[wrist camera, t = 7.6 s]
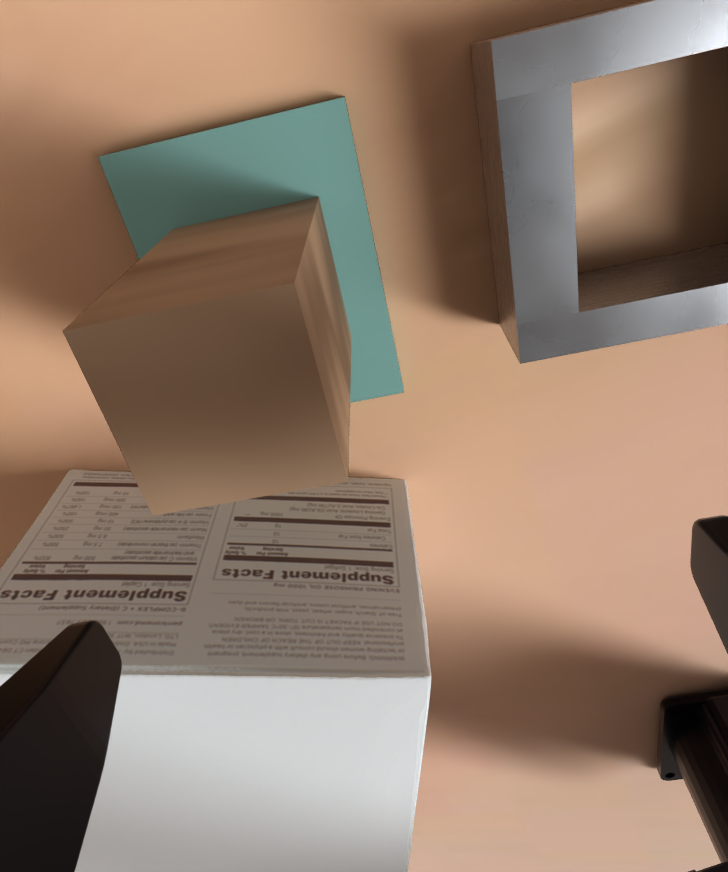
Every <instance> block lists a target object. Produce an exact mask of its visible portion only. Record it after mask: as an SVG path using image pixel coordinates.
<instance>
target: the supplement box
mask: <svg viewBox="0 0 728 872" xmlns="http://www.w3.org/2000/svg"><path fill="white" fill-rule="evenodd" d="M90 620H96V621H98V622H99V623H101V624H102V626H103V627H104V629H105V631H106V632H107V634H108V635H109V637H110V639H111V640H112V642H113V643H114V645H115V647H116V648H117V650H118V652H119V654H120V657H121V661H122V670H121V676H120V682H119V688H118V693H117V699H116V705H115V710H114V716H113V722H112V727H111V733H110V739H109V744H108V750H107V755H106V759H105V764H104V768H103V772H102V776H101V780H100V784H99V787H98V791H97V794H96V798H95V802H94V805H93V809H92V812H91V816H90V819H89V823H88V827H87V830H86V834H85V837H84V841H83V844H82V848H81V851H80V855H79V859H78V862H77V866H76V869H75V872H407V870H408V863H409V856H410V849H411V840H412V832H413V824H414V816H415V808H416V801H417V793H418V786H419V779H420V771H421V763H422V756H423V748H424V740H425V733H426V725H427V717H428V709H429V699H430V689H431V668H430V659H429V647H428V633H427V623H426V617H425V609H424V601H423V594H422V587H421V582H420V576H419V569H418V562H417V555H416V547H415V540H414V533H413V525H412V518H411V510H410V503H409V496H408V488H407V482H406V481H405V480H403V479H386V478H356V477H348V482H343V483H337V484H332V485H326V486H320V487H314V488H309V489H303V490H297V491H292V492H286V493H280V494H274V495H269V496H263V497H257V498H251V499H246V500H240V501H234V502H229V503H223V504H217V505H211V506H206V507H200V508H194V509H188V510H183V511H177V512H171V513H166V514H160V515H154V516H152V514H151V512H150V510H149V508H148V505H147V503H146V501H145V499H144V497H143V495H142V493H141V491H140V489H139V487H138V485H137V483H136V481H135V479H134V477H133V475H132V473H131V472H123V471H90V470H77V469H70V470H69V471H68V472H67V474H66V475H65V477H64V478H63V480H62V481H61V483H60V484H59V486H58V487H57V489H56V490H55V492H54V493H53V495H52V496H51V498H50V499H49V501H48V502H47V504H46V505H45V507H44V508H43V510H42V511H41V513H40V514H39V515H38V517H37V518H36V520H35V521H34V522H33V524H32V525H31V527H30V528H29V530H28V531H27V532H26V534H25V535H24V537H23V538H22V539H21V541H20V542H19V544H18V545H17V547H16V548H15V549H14V551H13V552H12V554H11V555H10V556H9V558H8V559H7V561H6V562H5V563H4V565H3V566H2V568H1V569H0V686H1V685H2V684H3V683H4V682H6V681H7V680H8V679H9V678H10V677H11V676H12V675H13V674H15V673H16V672H17V671H18V670H19V669H20V668H21V667H22V666H23V665H25V664H26V663H27V662H28V661H29V660H30V659H31V658H32V657H34V656H35V655H36V654H37V653H38V652H39V651H40V650H41V649H43V648H44V647H45V646H46V645H47V644H48V643H49V642H50V641H51V640H53V639H54V638H55V637H56V636H57V635H58V634H59V633H60V632H62V631H63V630H64V629H65V628H66V627H67V626H69V625H71V624H73V623H78V622H84V621H90Z"/></svg>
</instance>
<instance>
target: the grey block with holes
mask: <svg viewBox="0 0 728 872" xmlns="http://www.w3.org/2000/svg"><path fill="white" fill-rule="evenodd" d="M470 45H471V55H472V64H473V74H474V83H475V93H476V102H477V112H478V121H479V131H480V140H481V150H482V159H483V169H484V178H485V188H486V197H487V207H488V216H489V226H490V235H491V245H492V254H493V264H494V273H495V283H496V292H497V302H498V311H499V321H500V326H501V328H502V330H503V332H504V334H505V336H506V338H507V340H508V341H509V343H510V345H511V347H512V349H513V351H514V353H515V355H516V357H517V358H518V360H519V362H520V364H521V363H526V362H532V361H537V360H542V359H547V358H552V357H558V356H563V355H568V354H573V353H578V352H583V351H589V350H594V349H599V348H604V347H609V346H615V345H620V344H625V343H630V342H635V341H640V340H646V339H651V338H656V337H661V336H666V335H672V334H677V333H682V332H687V331H692V330H697V329H703V328H708V327H713V326H718V325H723V324H728V243H724V244H720V245H715V246H710V247H705V248H700V249H695V250H690V251H686V252H681V253H676V254H671V255H666V256H661V257H656V258H651V259H647V260H642V261H637V262H632V263H627V264H622V265H617V266H613V267H608V268H603V269H598V270H593V271H588V272H583V273H579V274H578V273H577V244H576V216H575V188H574V160H573V132H572V104H571V83H574V82H578V81H583V80H587V79H591V78H595V77H600V76H604V75H608V74H612V73H616V72H621V71H625V70H629V69H633V68H638V67H642V66H646V65H650V64H654V63H659V62H663V61H667V60H671V59H676V58H680V57H684V56H688V55H692V54H697V53H701V52H705V51H709V50H714V49H718V48H722V47H726V46H728V0H644V1H640V2H636V3H632V4H628V5H624V6H620V7H616V8H612V9H608V10H604V11H600V12H596V13H592V14H588V15H584V16H580V17H576V18H572V19H568V20H563V21H559V22H555V23H551V24H547V25H543V26H539V27H535V28H531V29H527V30H523V31H519V32H515V33H511V34H507V35H503V36H499V37H495V38H491V39H487V40H483V41H478V42H474V43H470Z"/></svg>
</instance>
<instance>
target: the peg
mask: <svg viewBox="0 0 728 872" xmlns="http://www.w3.org/2000/svg"><path fill="white" fill-rule="evenodd" d="M63 333H64V335H65V337H66V339H67V341H68V343H69V345H70V347H71V349H72V352H73V354H74V356H75V358H76V360H77V362H78V364H79V366H80V368H81V370H82V372H83V374H84V376H85V378H86V380H87V382H88V384H89V386H90V388H91V391H92V393H93V395H94V397H95V399H96V401H97V403H98V405H99V407H100V409H101V411H102V413H103V415H104V417H105V419H106V421H107V423H108V425H109V427H110V430H111V432H112V434H113V436H114V438H115V440H116V442H117V444H118V446H119V448H120V450H121V452H122V454H123V456H124V458H125V460H126V462H127V464H128V466H129V469H130V471H131V473H132V475H133V477H134V479H135V481H136V483H137V485H138V487H139V489H140V491H141V493H142V495H143V497H144V499H145V501H146V503H147V505H148V508H149V510H150V512H151V514H152V516H154V515H160V514H166V513H171V512H177V511H183V510H188V509H194V508H200V507H206V506H211V505H217V504H223V503H229V502H234V501H240V500H246V499H251V498H257V497H263V496H269V495H274V494H280V493H286V492H292V491H297V490H303V489H309V488H314V487H320V486H326V485H332V484H337V483H343V482H348V467H349V426H350V385H351V344H352V337H351V332H350V328H349V324H348V320H347V315H346V311H345V307H344V302H343V298H342V294H341V289H340V285H339V281H338V277H337V272H336V268H335V264H334V259H333V255H332V251H331V246H330V242H329V238H328V234H327V229H326V225H325V221H324V216H323V212H322V208H321V204H320V199H319V197H315V198H310V199H306V200H301V201H297V202H292V203H288V204H283V205H279V206H274V207H270V208H265V209H261V210H256V211H252V212H247V213H243V214H238V215H234V216H229V217H225V218H220V219H216V220H211V221H207V222H202V223H198V224H193V225H189V226H184V227H180V228H175V229H173V230H171V231H170V232H169V233H168V234H167V235H166V236H165V237H164V238H163V239H162V240H161V241H160V242H158V243H157V244H156V245H155V246H154V247H153V248H152V249H151V250H150V251H149V252H148V253H147V254H145V255H144V256H143V257H142V258H141V259H140V260H139V261H138V262H137V263H136V264H135V265H134V266H132V267H131V268H130V269H129V270H128V271H127V272H126V273H125V274H124V275H123V276H122V277H121V278H119V279H118V280H117V281H116V282H115V283H114V284H113V285H112V286H111V287H110V288H109V289H108V290H106V291H105V292H104V293H103V294H102V295H101V296H100V297H99V298H98V299H97V300H96V301H95V302H93V303H92V304H91V305H90V306H89V307H88V308H87V309H86V310H85V311H84V312H83V313H82V314H80V315H79V316H78V317H77V318H76V319H75V320H74V321H73V322H72V323H71V324H70V325H69V326H67V327H66V328H65V329H64V330H63Z"/></svg>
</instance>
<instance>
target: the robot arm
mask: <svg viewBox="0 0 728 872" xmlns="http://www.w3.org/2000/svg"><path fill="white" fill-rule="evenodd" d="M690 562H691V571H692V575H693V578H694V580H695V583H696V585H697V587H698V589H699V592H700V594H701V596H702V598H703V600H704V603H705V605H706V607H707V609H708V611H709V614H710V616H711V618H712V620H713V622H714V625H715V627H716V629H717V631H718V633H719V636H720V638H721V640H722V642H723V645H724V647H725V649H726V651H727V653H728V516H715V517H709V518H703V519H698V520H697V521H695V522H694V524H693V528H692V543H691V561H690ZM121 670H122V661H121V657H120V654H119V652H118V650H117V648H116V647H115V645H114V643H113V642H112V640H111V639H110V637H109V635H108V634H107V632H106V631H105V629H104V627H103V626H102V624H101V623H99V622H98V621H96V620H90V621H84V622H78V623H73V624H71V625H69V626H67V627H66V628H65V629H64V630H63V631H62V632H60V633H59V634H58V635H57V636H56V637H55V638H54V639H53V640H51V641H50V642H49V643H48V644H47V645H46V646H45V647H44V648H43V649H41V650H40V651H39V652H38V653H37V654H36V655H35V656H34V657H32V658H31V659H30V660H29V661H28V662H27V663H26V664H25V665H23V666H22V667H21V668H20V669H19V670H18V671H17V672H16V673H15V674H13V675H12V676H11V677H10V678H9V679H8V680H7V681H6V682H4V683H3V684H2V685H1V686H0V872H75V869H76V866H77V862H78V859H79V855H80V851H81V848H82V844H83V841H84V837H85V834H86V830H87V827H88V823H89V819H90V816H91V812H92V809H93V805H94V802H95V798H96V794H97V791H98V787H99V784H100V780H101V776H102V772H103V768H104V764H105V759H106V755H107V750H108V744H109V739H110V733H111V727H112V722H113V716H114V710H115V705H116V699H117V693H118V688H119V682H120V676H121ZM657 770H658V772H659V775H660V777H661V779H663V780H666V781H670V780H678V779H684V781H685V783H686V786H687V788H688V790H689V792H690V794H691V797H692V799H693V801H694V803H695V806H696V808H697V810H698V812H699V814H700V817H701V819H702V821H703V823H704V826H705V828H706V830H707V832H708V834H709V837H710V839H711V841H712V843H713V845H714V848H715V850H716V852H717V854H718V857H719V859H720V861H721V863H720V864H717V865H714V866H711V867H708V868H705V869H703V870H700V871H697V872H728V690H726V691H718V692H711V693H704V694H696V695H689V696H682V697H674V698H669V699H666V700H665V701H663V702H662V704H661V711H660V729H659V748H658V766H657ZM688 872H696V871H695V870H691V871H688Z"/></svg>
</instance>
